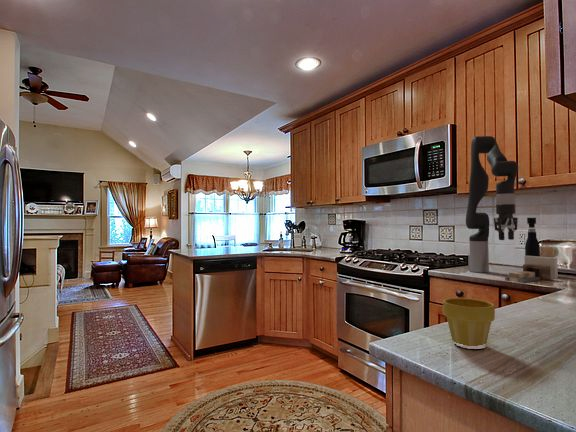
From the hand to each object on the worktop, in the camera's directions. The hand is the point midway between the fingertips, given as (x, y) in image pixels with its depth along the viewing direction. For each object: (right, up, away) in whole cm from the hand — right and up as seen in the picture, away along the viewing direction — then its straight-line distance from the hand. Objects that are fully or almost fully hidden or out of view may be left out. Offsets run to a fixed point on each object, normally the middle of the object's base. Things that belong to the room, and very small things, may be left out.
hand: (506, 239), depth 156 cm
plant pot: (-60, -19, -79) cm, 101 cm away
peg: (+10, -20, +4) cm, 23 cm away
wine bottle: (+29, -20, +22) cm, 42 cm away
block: (+21, -19, +9) cm, 30 cm away
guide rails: (+10, -20, +4) cm, 23 cm away
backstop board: (+26, -20, +14) cm, 35 cm away
